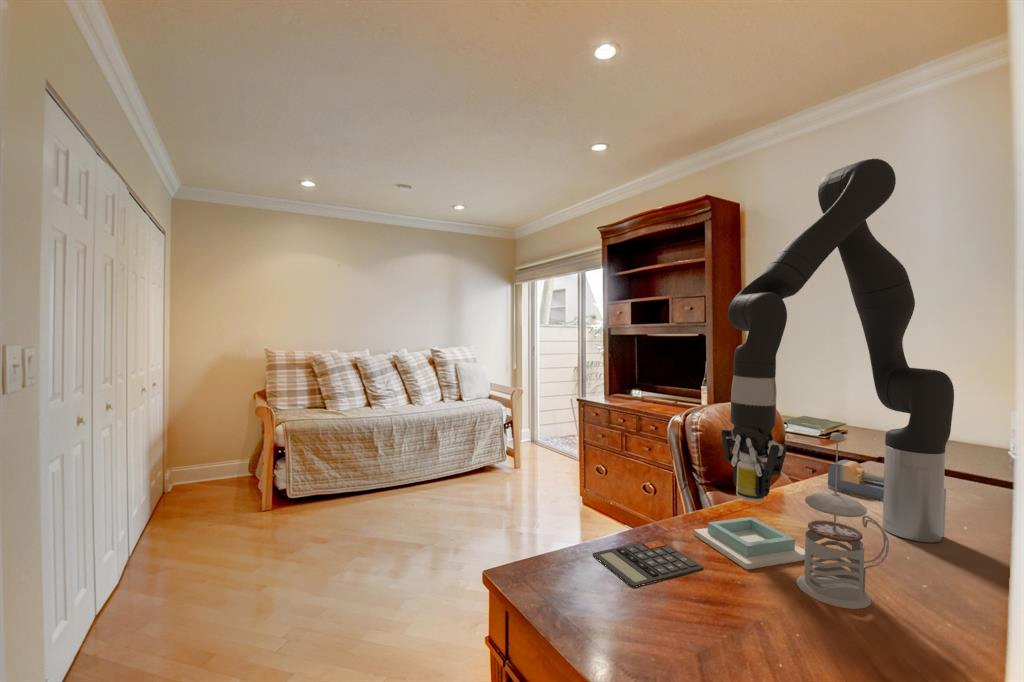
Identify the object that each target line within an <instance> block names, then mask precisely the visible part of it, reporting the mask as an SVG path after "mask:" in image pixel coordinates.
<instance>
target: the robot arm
mask: <svg viewBox="0 0 1024 682" xmlns="http://www.w3.org/2000/svg"><path fill="white" fill-rule="evenodd" d="M896 181H897V180H896V173H895V171H894V168H893V167H892V166H891V164H889V162H887V161H886V160H884V159H881V158H869V159H864V160H860V161H857V162H855V163H852V164H849V165H846V166H844V167H843V166H842V167H841V168H839V169H838V168H837V169H835V170H834V171H830V172H829V173H827V174H826V175H825V176H823V177H822V179H821V180H820V182H819V184H818V189H817V199H818V203H819V207H820V209H821V212H822V215H821V216H820V217H818V219H816V220H815V221H814V222H812V223H811V224H810V225H809V226H807V227H806V228H805V229H804V230H802V231H801V232H799V233H798V234H797V235H796V236H795V237H793V238H792V239H791V240H790V241H789V242H788V243H787V244H786V245H784V247H783V248H782V249H781V250H780V251H779V253H778V254H777V255H776V256H775V257H774V258H773V260H772V261H771V262H770V263H769V265H768V266H767V267H766V269H765V270H764V271H763V272H761V274H759V275H758V276H757V277H755V278H754V279H753V280H751V282H749V283H748V284H747V285H746V286H745V287H744V288H743V289H742V290H740V291H739V292H737V294H736V295H735V296H734V298H733V299H732V300H731V302H730V303H729V306H728V309H727V319H728V322H729V323H730V325H731V326H732V327H733V328H734V329H736V330H739V331H742V332H743V331H744V332H748V334H747V338H746V341H745V343H742V344H740V345H737V346H736V348H735V349H734V353H733V354H734V355H733V374H732V375H733V376H732V383H731V389H730V391H731V392H730V394H731V395H730V419H729V420H730V423H731V425H733V428H732V429H722V430H721V433H720V434H721V439H722V440H721V441H722V447H723V453H724V459H725V460H726V462H729V463H730V464H731V466H732V467H733V470H732V471H733V472H732V480H733V486H735V487H736V485H737V463H738V462H739V461H741V460H740V458H739V456H740V452H744V453H747V454H750V456H751V461H752V463H754V464H755V469H756V473H757V475H758V476H756V491H755V494H756V495H757V496H759V497H764V498H765V497H767V496H768V495H769V494H770V491H771V489H770V486H771V485H770V484H771V477H773V476H780V475H781V473H782V469H783V465H784V462H785V460H786V459H785V457H786V455H787V452H788V451H787V450H788V446H787V445H786V444H785V443H778V442H776V441H775V440H774V437H773V432H772V431H773V429H774V428H775V427H776V420H777V419H776V417H777V415H776V413H777V392H778V391H777V383H776V377H777V376H776V375H777V374H776V372H777V371H776V369H777V363H776V362H777V361H776V360H777V354H778V351H779V348H780V346H781V342H782V339H783V336H784V332H785V329H786V325H787V320H788V311H787V306H786V304H785V302H784V300H783V299H786V298H789V297H793V296H794V295H796V294H797V293H799V292H800V291H801V289H802V288H803V287H804V286H805V285H806V284H807V282H808V281H809V280H810V278H811V277H812V276H813V275H814V274H815V272H816V271H817V270H818V269H819V267H820V266H821V265H822V264H823V262H825V260H827V258H828V257H829V256H830V255H831V254H832V253H833V252H834V251H835V250H836V248H837V250H838V252H839V255H840V258H841V262H842V265H843V267H844V271H845V273H846V276H847V280H848V283H849V288H850V292H851V295H852V299H853V301H854V306H855V309H856V311H857V313H858V317H859V320H860V323H861V328H862V329H863V334H864V338H865V341H866V346H867V349H868V354H869V359H870V361H869V362H870V365H871V366H870V367H871V372H872V378H873V382H874V389H875V391H876V395H877V398H878V399H879V401H880V403H881V404H882V405H883V406H884V407H885V408H886V409H889V410H891V411H895V412H900V413H903V414H904V413H905V414H909V418H908V419H909V420H908V424H907V425H906V426H904V427H901V428H895V429H894V428H892V429H889V430H887V431H886V433H885V435H884V438H885V439H884V462H883V463H884V466H883V470H884V471H883V473H884V474H883V476H884V493H883V502H882V526H881V528H882V529H883V530H884V531H885V532H888V533H890V534H892V535H895V536H897V537H900V538H904V539H905V540H911V541H915V542H919V543H920V542H921V543H938V542H941V541H942V540H943V537H945V532H946V531H945V528H946V525H945V524H946V504H947V503H946V501H947V489H946V488H945V468H946V467H945V465H946V446H947V444H948V443H947V442H948V440H949V438H950V436H951V432H952V421H953V420H952V419H953V413H954V412H953V411H954V404H955V389H954V384H953V381H952V379H951V378H950V377H949V375H948V374H947V373H945V372H943V371H942V370H937V369H930V368H929V369H928V368H927V369H926V368H917V367H910V366H909V365H908V362H907V359H906V356H905V351H904V345H903V340H904V336H905V333H906V331H907V329H908V326H909V323H910V322H911V319H912V317H913V314H914V311H915V306H916V301H915V300H916V299H915V294H914V291H913V288H912V284H911V280H910V278H909V277H910V276H909V274H908V272H907V269H906V268H905V267H904V265H903V264H902V263H901V262H900V260H899V259H897V257H895V256H894V254H892V253H891V252H890V251H889V250H888V249H887V248H886V247H885V246H883V245H882V243H880V242H879V241H878V240H877V239H876V237H875V236H874V235H873V233H872V232H871V229H870V227H869V226H868V225H869V224H868V223H867V219H869V218H870V216H872V215H873V214H874V213H876V211H878V210H879V209H880V208H881V207H882V206H883V205H884V204H885V203H886V202H888V200H889V199H890V198H891V196H892V195H893V193H894V191H895V187H896V184H897V183H896ZM731 452H732V453H731ZM758 456H763V458H759V457H758ZM762 464H763V465H764V469H763V468H762Z"/></svg>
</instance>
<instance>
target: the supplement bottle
mask: <svg viewBox="0 0 1024 682" xmlns="http://www.w3.org/2000/svg"><path fill="white" fill-rule="evenodd" d="M758 457H759V458H763V457H764V456H758ZM739 458H740V460H741V461H739V462H738V463H737V485H736V486H735V487H736V488H735V489H736V490H735V493H736V494H735V495H736V496H737V497H738V498H739V499H741V500H743V501H747V502H755V503H756V502H762V501H764V500H765V496H764V497H759V496H757V495H756V494H755V491H756V476H758V475H757V473H756V469H755V464H754V463H752V461H751V456H750V454H747V453H744V452H740V456H739ZM762 468H763V469H764V465H763V463H762Z"/></svg>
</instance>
